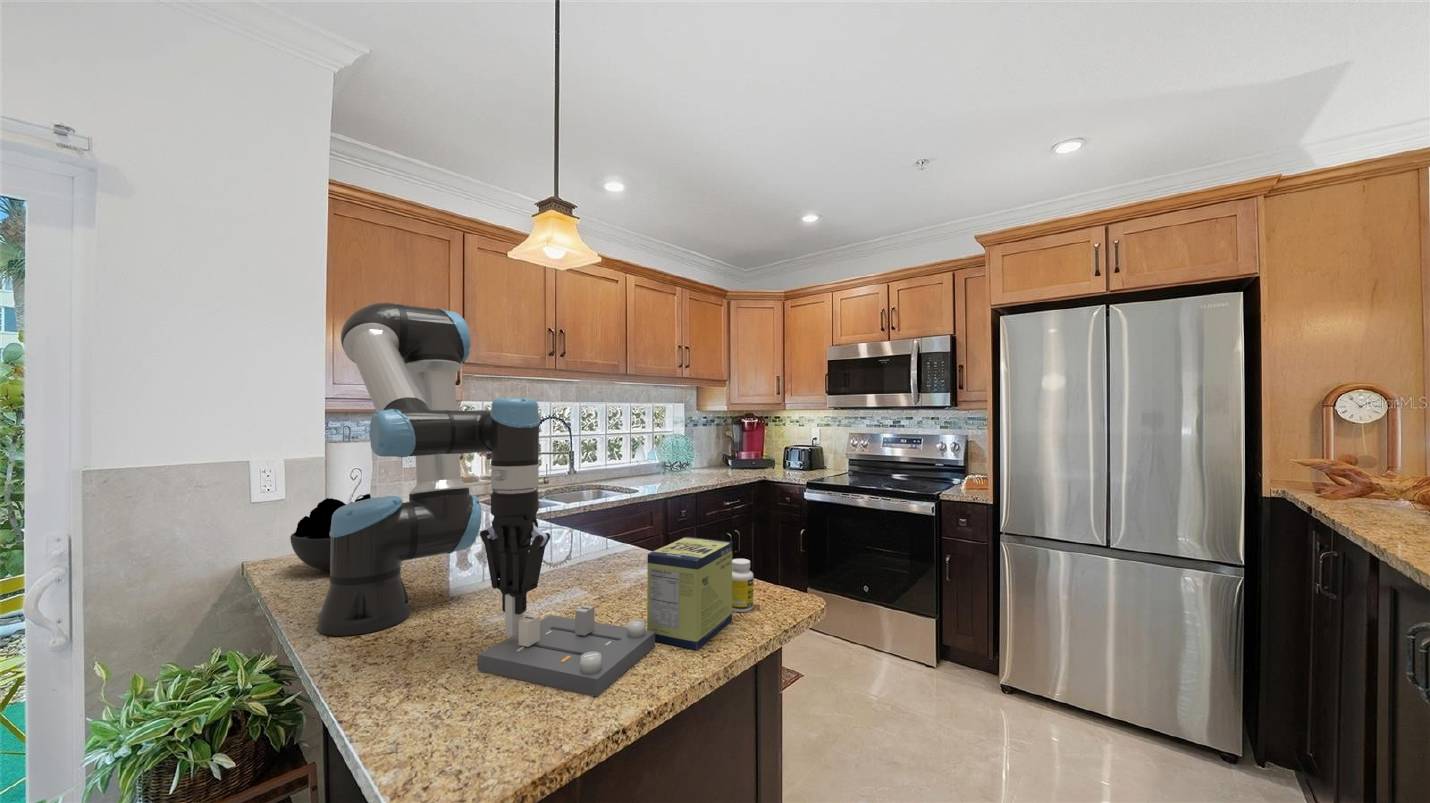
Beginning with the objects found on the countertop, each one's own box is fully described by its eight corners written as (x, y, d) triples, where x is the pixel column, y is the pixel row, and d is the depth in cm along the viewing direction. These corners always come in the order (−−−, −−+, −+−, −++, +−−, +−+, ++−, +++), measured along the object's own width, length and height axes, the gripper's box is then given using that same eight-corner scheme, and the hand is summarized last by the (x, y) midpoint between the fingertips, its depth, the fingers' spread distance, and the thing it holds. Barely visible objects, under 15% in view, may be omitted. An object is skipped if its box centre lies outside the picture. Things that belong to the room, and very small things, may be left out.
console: (477, 670, 86) (477, 641, 86) (550, 628, 103) (550, 603, 103) (597, 696, 78) (597, 664, 78) (655, 646, 95) (655, 619, 95)
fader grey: (575, 633, 93) (575, 609, 93) (584, 627, 96) (584, 604, 96) (585, 635, 92) (585, 611, 92) (594, 629, 95) (594, 605, 95)
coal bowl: (282, 586, 127) (284, 505, 128) (296, 565, 145) (297, 494, 145) (382, 573, 137) (383, 498, 138) (384, 555, 155) (385, 489, 155)
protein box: (733, 620, 107) (733, 540, 107) (697, 651, 93) (697, 560, 93) (686, 611, 111) (686, 535, 112) (645, 640, 97) (645, 553, 97)
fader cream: (518, 644, 89) (518, 619, 89) (530, 638, 91) (530, 613, 91) (528, 646, 88) (528, 621, 88) (539, 639, 91) (540, 615, 91)
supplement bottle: (751, 613, 110) (751, 565, 110) (725, 611, 111) (725, 563, 111) (754, 604, 115) (754, 558, 116) (729, 602, 116) (729, 556, 117)
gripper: (467, 491, 90) (466, 635, 89) (531, 495, 85) (530, 647, 85) (500, 485, 97) (499, 619, 96) (561, 488, 92) (560, 629, 92)
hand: (514, 631), depth 91 cm, fingers closed
